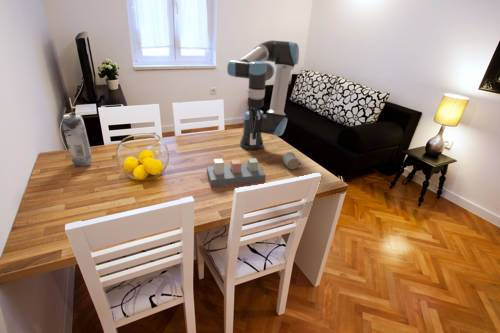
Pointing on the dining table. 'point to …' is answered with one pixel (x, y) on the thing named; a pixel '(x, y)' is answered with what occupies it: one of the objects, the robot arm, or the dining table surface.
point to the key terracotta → (235, 166)
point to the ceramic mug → (291, 161)
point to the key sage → (252, 165)
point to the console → (235, 176)
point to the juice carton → (77, 140)
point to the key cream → (218, 166)
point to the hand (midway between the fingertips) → (252, 144)
